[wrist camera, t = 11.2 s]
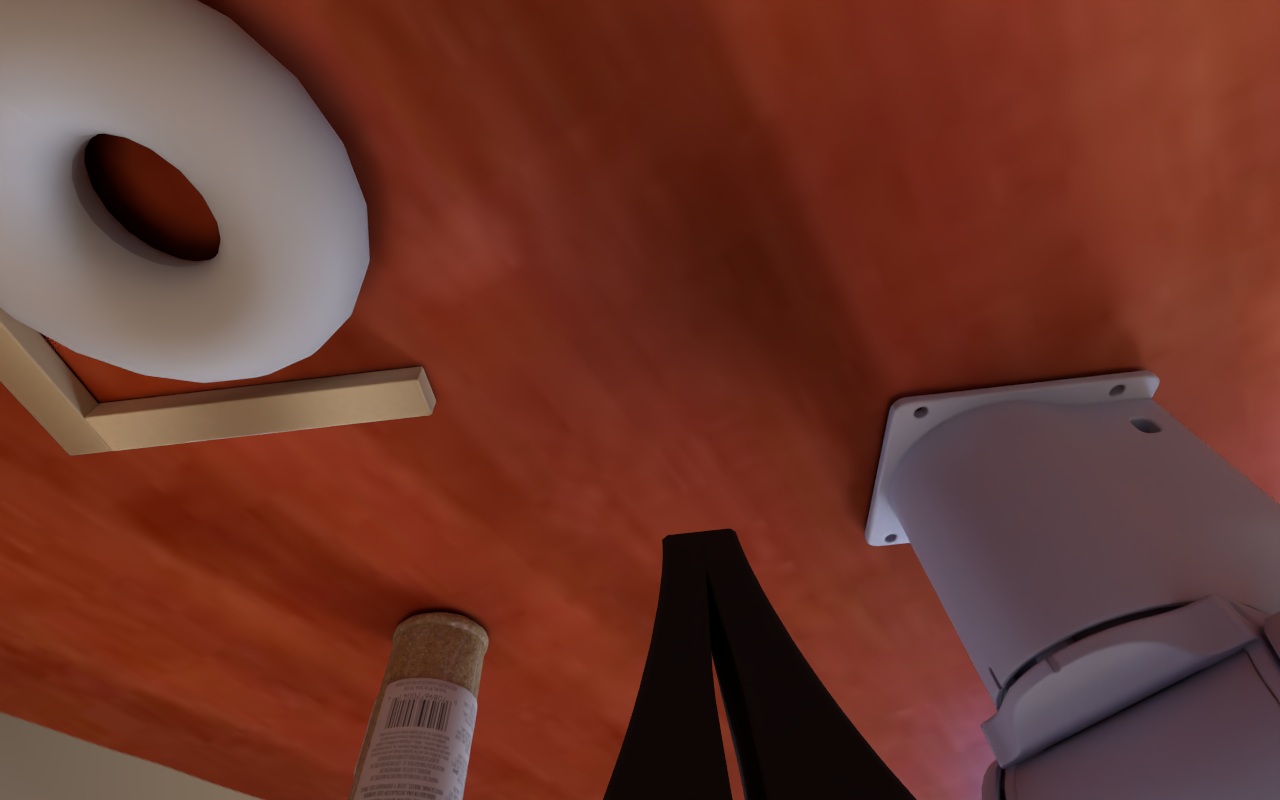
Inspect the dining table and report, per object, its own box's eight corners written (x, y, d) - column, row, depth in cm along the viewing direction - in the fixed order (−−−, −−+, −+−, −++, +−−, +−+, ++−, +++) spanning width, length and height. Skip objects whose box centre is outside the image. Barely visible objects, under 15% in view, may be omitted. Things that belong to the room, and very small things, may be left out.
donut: (239, 388, 20) (462, 233, 17) (181, 459, 17) (434, 289, 14) (-122, 121, 15) (108, -177, 12) (-287, 164, 12) (-45, -210, 9)
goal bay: (169, -284, 11) (142, -298, 10) (436, 400, 21) (431, 415, 20) (-485, -195, 11) (-549, -203, 11) (85, 441, 21) (69, 456, 20)
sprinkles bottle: (385, 647, 30) (264, 1040, 19) (410, 597, 27) (289, 1014, 17) (473, 665, 31) (408, 1040, 21) (505, 620, 29) (450, 1016, 18)
